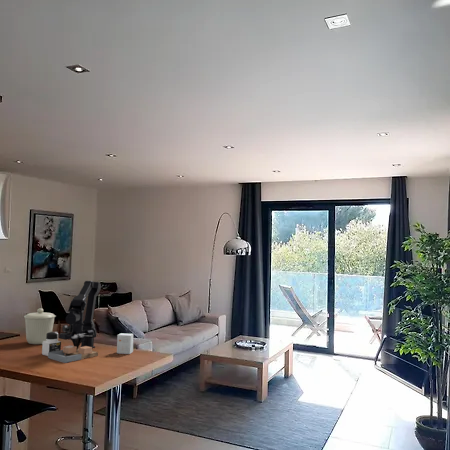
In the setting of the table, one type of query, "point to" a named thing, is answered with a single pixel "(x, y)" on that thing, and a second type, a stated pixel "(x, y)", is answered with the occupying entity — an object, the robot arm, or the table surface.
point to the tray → (63, 356)
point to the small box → (124, 343)
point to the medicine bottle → (51, 343)
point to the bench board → (83, 354)
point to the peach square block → (85, 350)
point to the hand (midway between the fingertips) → (76, 349)
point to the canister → (38, 326)
